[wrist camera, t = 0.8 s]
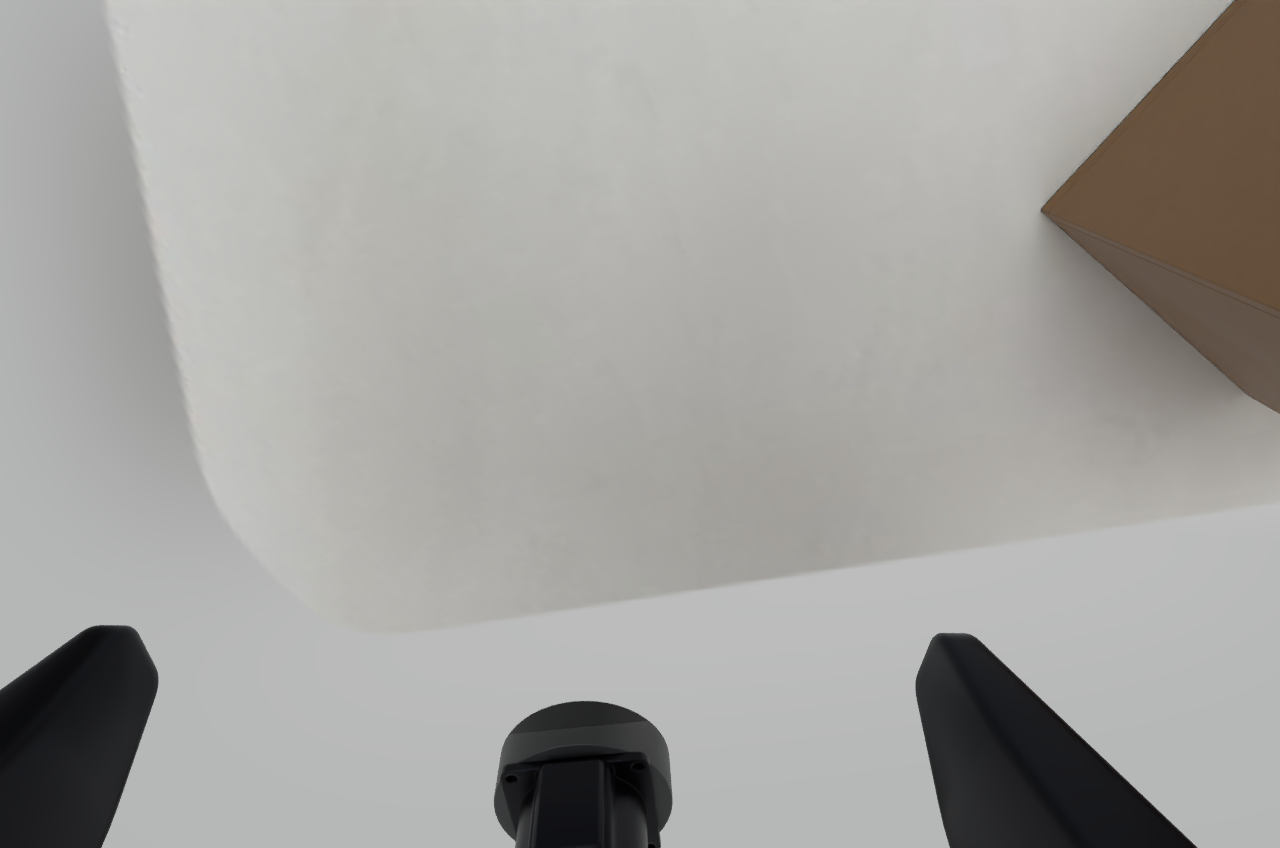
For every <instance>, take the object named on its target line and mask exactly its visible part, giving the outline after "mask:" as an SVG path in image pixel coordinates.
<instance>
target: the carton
mask: <svg viewBox="0 0 1280 848" xmlns="http://www.w3.org/2000/svg"><path fill="white" fill-rule="evenodd" d="M1041 210H1042V212H1043V213H1044V214H1046V215H1047V216H1048V217H1049V218H1050V219H1051V220H1052V221H1053V222H1055V223H1056V224H1057V225H1058V226H1059V227H1060V228H1061V229H1062V230H1064V231H1065V232H1066V233H1067V234H1068V235H1069V236H1070V237H1071V238H1072V239H1074V240H1075V241H1076V242H1077V243H1078V244H1079V245H1080V246H1081V247H1083V248H1084V249H1085V250H1086V251H1087V252H1088V253H1089V254H1090V255H1092V256H1093V257H1094V258H1095V259H1096V260H1097V261H1098V262H1099V263H1101V264H1102V265H1103V266H1104V267H1105V268H1106V269H1107V270H1108V271H1109V272H1111V273H1112V274H1113V275H1114V276H1115V277H1116V278H1117V279H1118V280H1120V281H1121V282H1122V283H1123V284H1124V285H1125V286H1126V287H1127V288H1129V289H1130V290H1131V291H1132V292H1133V293H1134V294H1135V295H1136V296H1138V297H1139V298H1140V299H1141V300H1142V301H1143V302H1144V303H1145V304H1146V305H1148V306H1149V307H1150V308H1151V309H1152V310H1153V311H1154V312H1155V313H1157V314H1158V315H1159V316H1160V317H1161V318H1162V319H1163V320H1164V321H1166V322H1167V323H1168V324H1169V325H1170V326H1171V327H1172V328H1173V329H1174V330H1176V331H1177V332H1178V333H1179V334H1180V335H1181V336H1182V337H1183V338H1185V339H1186V340H1187V341H1188V342H1189V343H1190V344H1191V345H1192V346H1194V347H1195V348H1196V349H1197V350H1198V351H1199V352H1200V353H1201V354H1203V355H1204V356H1205V357H1206V358H1207V359H1208V360H1209V361H1210V362H1211V363H1213V364H1214V365H1215V366H1216V367H1217V368H1218V369H1219V370H1220V371H1222V372H1223V373H1224V374H1225V375H1226V376H1227V377H1228V378H1229V379H1231V380H1232V381H1233V382H1234V383H1235V384H1236V385H1237V386H1238V387H1240V388H1241V389H1242V390H1243V391H1244V392H1245V393H1246V394H1247V395H1248V396H1250V397H1252V398H1253V399H1255V400H1257V401H1259V402H1260V403H1262V404H1264V405H1265V406H1267V407H1269V408H1271V409H1272V410H1274V411H1276V412H1278V413H1279V414H1280V0H1235V1H1234V2H1233V3H1232V4H1231V6H1230V7H1229V8H1228V9H1227V10H1226V11H1225V12H1224V13H1223V14H1222V15H1221V16H1220V17H1219V18H1218V20H1217V21H1216V22H1215V23H1214V24H1213V25H1212V26H1211V27H1210V28H1209V29H1208V30H1207V31H1206V32H1205V33H1204V35H1203V36H1202V37H1201V38H1200V39H1199V40H1198V41H1197V42H1196V43H1195V44H1194V45H1193V46H1192V47H1191V49H1190V50H1189V51H1188V52H1187V53H1186V54H1185V55H1184V56H1183V57H1182V58H1181V59H1180V60H1179V61H1178V63H1177V64H1176V65H1175V66H1174V67H1173V68H1172V69H1171V70H1170V71H1169V72H1168V73H1167V74H1166V75H1165V77H1164V78H1163V79H1162V80H1161V81H1160V82H1159V83H1158V84H1157V85H1156V86H1155V87H1154V88H1153V89H1152V91H1151V92H1150V93H1149V94H1148V95H1147V96H1146V97H1145V98H1144V99H1143V100H1142V101H1141V102H1140V103H1139V105H1138V106H1137V107H1136V108H1135V109H1134V110H1133V111H1132V112H1131V113H1130V114H1129V115H1128V116H1127V117H1126V118H1125V120H1124V121H1123V122H1122V123H1121V124H1120V125H1119V126H1118V127H1117V128H1116V129H1115V130H1114V131H1113V132H1112V134H1111V135H1110V136H1109V137H1108V138H1107V139H1106V140H1105V141H1104V142H1103V143H1102V144H1101V145H1100V146H1099V148H1098V149H1097V150H1096V151H1095V152H1094V153H1093V154H1092V155H1091V156H1090V157H1089V158H1088V159H1087V160H1086V162H1085V163H1084V164H1083V165H1082V166H1081V167H1080V168H1079V169H1078V170H1077V171H1076V172H1075V173H1074V174H1073V176H1072V177H1071V178H1070V179H1069V180H1068V181H1067V182H1066V183H1065V184H1064V185H1063V186H1062V187H1061V188H1060V189H1059V191H1058V192H1057V193H1056V194H1055V195H1054V196H1053V197H1052V198H1051V199H1050V200H1049V201H1048V202H1047V203H1046V205H1045V206H1044V207H1043V208H1042V209H1041Z"/></svg>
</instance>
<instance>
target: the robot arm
mask: <svg viewBox="0 0 1280 848" xmlns="http://www.w3.org/2000/svg"><path fill="white" fill-rule="evenodd" d="M157 688H158V672H157V669H156V667H155V665H154V663H153V661H152V659H151V657H150V655H149V653H148V651H147V650H146V647H145V645H144V643H143V641H142V640H141V638H140V636H139V634H138V632H137V631H136V630H135V629H133V628H132V627H130V626H119V625H117V626H114V625H107V626H106V625H99V626H93V627H90V628H88V629H86V630H84V631H82V632H81V633H79V634H78V635H76V636H75V637H74V638H72V639H71V640H69V641H68V642H67V643H65V644H64V645H62V646H61V647H60V648H58V649H57V650H55V651H54V652H53V653H51V654H50V655H48V656H47V657H46V658H44V659H43V660H41V661H40V662H39V663H38V664H36V665H35V666H33V667H32V668H30V669H29V670H28V671H26V672H25V673H23V674H22V675H21V676H19V677H18V678H16V679H15V680H14V681H12V682H11V683H9V684H8V685H7V686H5V687H4V688H2V689H1V690H0V848H101V847H102V845H103V842H104V840H105V837H106V835H107V833H108V831H109V828H110V826H111V823H112V820H113V818H114V815H115V813H116V810H117V807H118V804H119V801H120V798H121V795H122V793H123V789H124V787H125V784H126V781H127V778H128V775H129V772H130V769H131V766H132V763H133V760H134V758H135V755H136V752H137V749H138V746H139V743H140V740H141V737H142V734H143V731H144V728H145V725H146V723H147V719H148V716H149V714H150V711H151V708H152V705H153V702H154V699H155V696H156V693H157ZM916 697H917V702H918V707H919V712H920V716H921V722H922V726H923V731H924V735H925V741H926V746H927V750H928V755H929V760H930V765H931V769H932V774H933V779H934V784H935V789H936V794H937V799H938V803H939V808H940V812H941V817H942V821H943V825H944V829H945V832H946V836H947V839H948V842H949V846H950V848H1197V847H1196V846H1195V845H1194V844H1193V843H1192V842H1191V841H1190V840H1189V839H1188V838H1187V837H1185V835H1184V834H1183V833H1182V832H1180V831H1179V830H1178V829H1177V828H1176V827H1175V826H1174V825H1173V824H1172V823H1171V822H1170V821H1169V820H1168V819H1166V817H1165V816H1163V814H1162V813H1160V812H1159V811H1158V810H1157V809H1156V808H1155V807H1154V806H1153V805H1152V804H1151V803H1150V802H1149V801H1148V800H1147V799H1146V798H1145V797H1144V796H1143V795H1141V794H1140V793H1139V792H1138V791H1137V790H1136V789H1135V788H1134V787H1133V786H1132V785H1131V784H1130V783H1129V782H1128V781H1127V780H1126V779H1125V778H1124V777H1123V776H1122V775H1120V774H1119V773H1118V772H1117V771H1116V770H1115V769H1114V768H1113V767H1112V766H1111V765H1110V764H1109V763H1108V762H1107V761H1106V760H1105V759H1104V758H1103V757H1102V756H1100V755H1099V754H1098V753H1097V752H1096V751H1095V750H1094V749H1093V748H1092V747H1091V746H1090V745H1089V744H1088V743H1087V742H1086V741H1085V740H1084V739H1083V738H1081V736H1079V735H1078V734H1077V733H1076V732H1075V731H1074V730H1073V729H1072V728H1071V727H1070V726H1069V725H1068V724H1067V723H1066V722H1065V721H1064V720H1063V719H1062V718H1060V717H1059V716H1058V715H1057V714H1056V713H1055V712H1054V711H1053V710H1052V709H1051V708H1050V707H1049V706H1048V705H1047V704H1046V703H1045V702H1044V701H1042V700H1041V698H1039V697H1038V696H1037V695H1036V694H1035V693H1034V692H1033V691H1032V690H1031V689H1030V688H1029V687H1028V686H1027V685H1026V684H1025V683H1024V682H1023V681H1022V680H1021V679H1019V678H1018V677H1017V676H1016V675H1015V674H1014V673H1013V672H1012V671H1011V670H1010V669H1009V668H1008V667H1007V666H1006V665H1005V664H1003V662H1001V660H999V659H998V658H997V657H996V656H995V655H994V654H993V653H992V652H991V651H990V650H989V649H988V648H987V647H986V646H985V645H984V644H983V643H982V642H981V641H979V640H978V639H977V638H975V637H974V636H972V635H970V634H965V633H939V634H937V635H936V636H934V637H933V638H932V640H931V642H930V645H929V647H928V650H927V652H926V654H925V657H924V659H923V662H922V664H921V667H920V669H919V671H918V674H917V678H916ZM500 781H501V785H502V788H503V792H504V796H505V799H506V803H507V806H508V810H509V814H510V817H511V821H512V824H513V828H514V831H515V835H516V846H515V848H660V847H661V845H660V844H661V843H660V833H659V826H658V819H657V811H656V804H655V797H654V790H653V783H652V776H651V769H650V762H649V757H648V755H647V754H645V753H643V752H638V751H636V752H625V753H615V754H605V755H594V756H584V757H573V758H563V759H553V760H542V761H532V762H521V763H511V764H507V765H505V766H503V768H502V769H501V776H500Z"/></svg>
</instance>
